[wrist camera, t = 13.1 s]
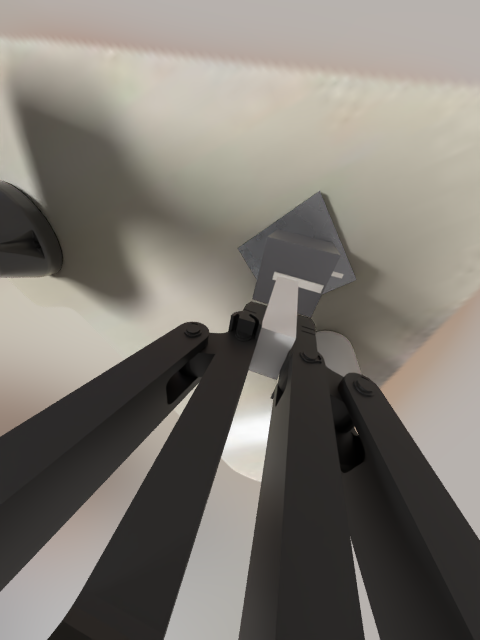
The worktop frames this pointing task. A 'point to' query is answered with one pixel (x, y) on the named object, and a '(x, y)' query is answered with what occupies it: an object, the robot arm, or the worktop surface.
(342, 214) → the worktop surface
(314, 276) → the dark grey cube
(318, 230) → the base plate
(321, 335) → the cup
